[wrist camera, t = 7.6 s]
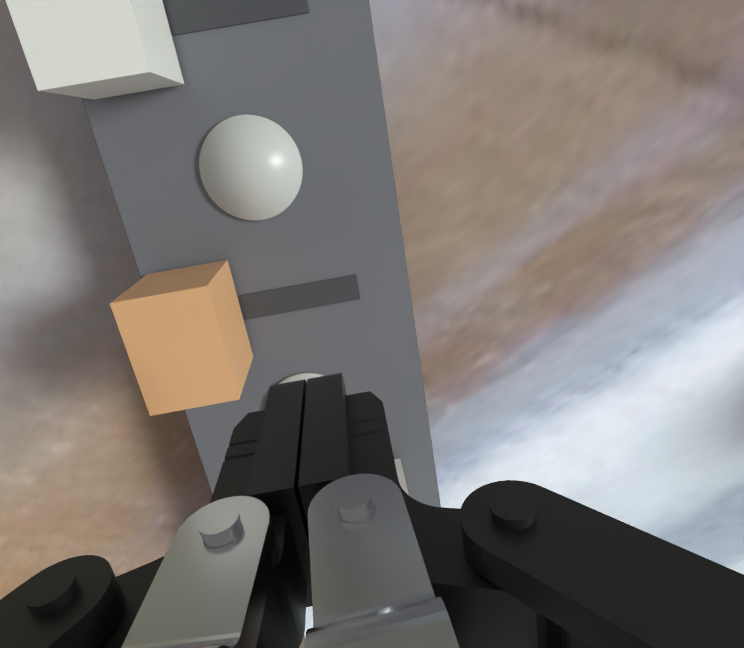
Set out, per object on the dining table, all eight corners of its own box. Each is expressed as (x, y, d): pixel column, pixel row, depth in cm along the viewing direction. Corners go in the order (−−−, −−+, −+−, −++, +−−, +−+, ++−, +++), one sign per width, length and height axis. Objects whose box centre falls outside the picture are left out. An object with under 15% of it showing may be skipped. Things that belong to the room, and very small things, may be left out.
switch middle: (147, 274, 19) (109, 303, 16) (227, 259, 19) (206, 285, 16) (178, 370, 21) (150, 415, 17) (253, 356, 21) (239, 399, 17)
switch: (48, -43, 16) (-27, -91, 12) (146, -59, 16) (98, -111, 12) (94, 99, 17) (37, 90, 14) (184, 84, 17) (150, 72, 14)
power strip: (-97, -580, 14) (-211, -775, 11) (267, -632, 14) (251, -834, 11) (256, 558, 28) (248, 608, 25) (437, 524, 28) (449, 570, 26)
